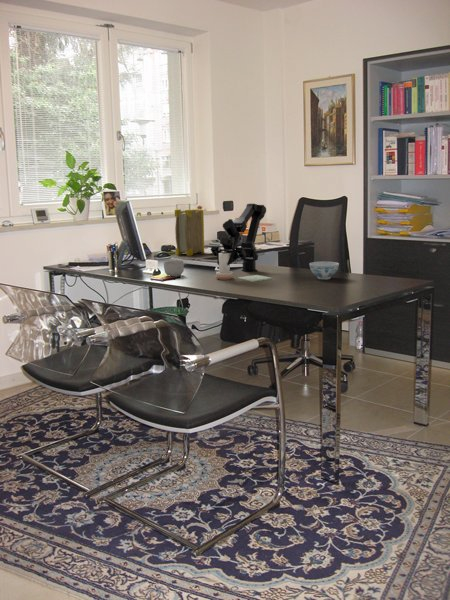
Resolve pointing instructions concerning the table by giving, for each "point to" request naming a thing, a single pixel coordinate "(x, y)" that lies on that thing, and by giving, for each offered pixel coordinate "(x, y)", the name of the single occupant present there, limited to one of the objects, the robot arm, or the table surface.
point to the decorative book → (189, 231)
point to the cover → (224, 264)
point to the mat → (254, 278)
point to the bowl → (224, 277)
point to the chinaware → (324, 269)
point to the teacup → (174, 267)
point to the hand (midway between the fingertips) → (223, 264)
